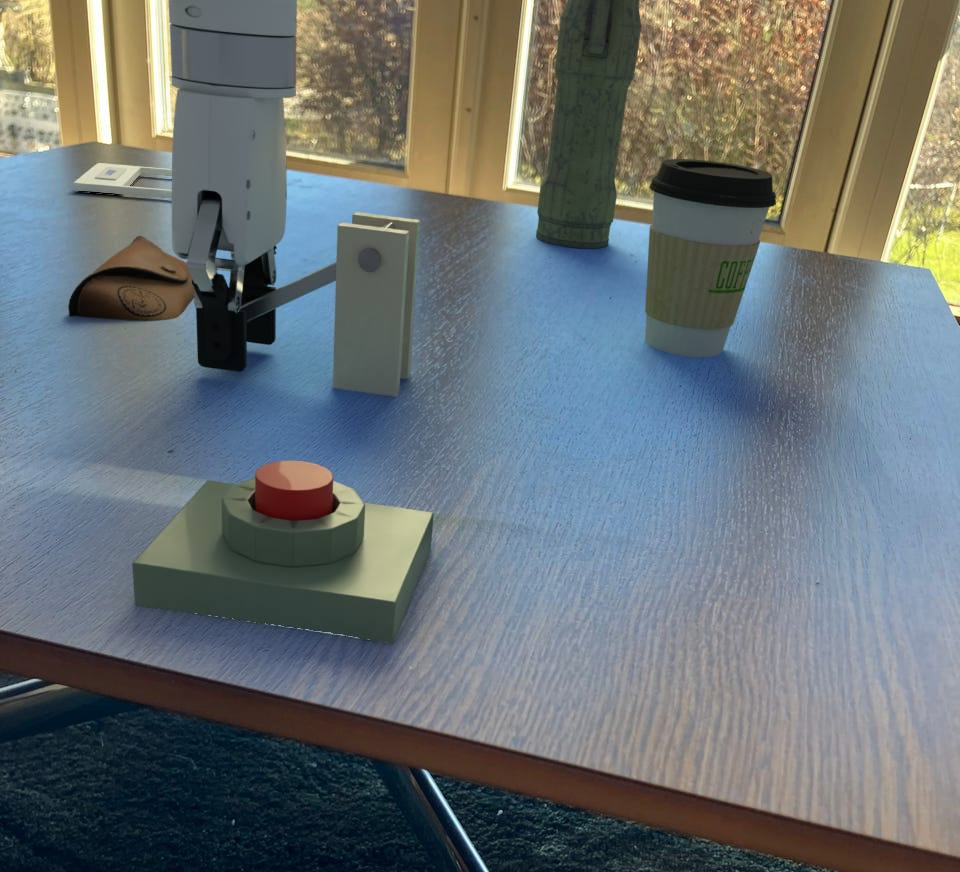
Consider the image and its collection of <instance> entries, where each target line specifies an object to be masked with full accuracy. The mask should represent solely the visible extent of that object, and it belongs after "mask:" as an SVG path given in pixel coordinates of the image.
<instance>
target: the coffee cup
mask: <svg viewBox="0 0 960 872" xmlns="http://www.w3.org/2000/svg"><path fill="white" fill-rule="evenodd" d="M773 183H774V181H773V175H772V174H771V173H770V172H768V171H765V170H762V169H758V168H754V167H751V166H746V165H739V164H735V163H728V162H721V161H713V160H704V159H694V158H693V159H691V158H690V159H689V158H671V159H664V160H662V162H661V165H660V167H659V169H658V172H657V174H656V175H655V176H653V177H652V179H651V182H650V184H649V186H648V189H650V191H652V192H653V201H652V202H653V203H652V218H651V219H652V220H651V224H650V225H649V231H648V233H649V234H648V252H647V267H646V268H647V270H646V288H645V289H646V290H645V302H644V303H645V305H644V312H645V314H646V317H645V318H646V320H645V333H644V336H645V337H644V340H645V343H646V344H647V345H648V346H650V347H651V348H653V349H655V350H658V351H660V352H664V353H668V354H671V355H675V356H683V357H688V358H689V357H691V358H711V357H712V358H713V357H716V356H719V355H721V354H723V351H724V349H725V346H726V343H727V339H728V337H729V333H730V330H731V327H732V326H733V325H734V324H735V320H736V317H737V315H738V311H739V308H740V306H741V302H742V300H743V299H742V298H743V296H744V293H745V289H746V288H747V287H746V286H747V283H748V280H749V277H750V274H751V272H752V268H753V265H754V263H755V260H756V256H757V253H758V250H759V247H760V244H761V240H760V238H761V235H762V232H763V228H764V225H765V222H766V219H767V217H768V216H767V215H768V213H769V210H770V208H772V207H775V205H776V206H777V200H776V198H777V194H776V192H775V191H774V186H773V185H774V184H773Z"/></svg>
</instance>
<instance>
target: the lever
mask: <svg viewBox="0 0 960 872" xmlns="http://www.w3.org/2000/svg"><path fill="white" fill-rule="evenodd" d="M381 228H389V229H396V228H395V226H394V224H393V222H391V223H389V224H387V225H385V226H383V227H381ZM334 282H336V261H334V262H332V263H330V264H328V265H325V266H323V267H322V268H319V269H317V270H315V271H313V272H310V273H309V274H306V275H304V276H302V277H300V278H297V279H295V280H294V281H291V282H290V283H287V284H285V285H283V286H280V287H278V288H276V290H274V291H272V292H270V293H268V294H266V295H263V296H261V297H259V298H257V299H254V298H252V297H245V298H243V299H242V300H241V308H240V310H246V324H247V323H248V322H250V321H251V320H252V319H254V318H256V317H258V316H260V315H263V314H265V313H267V312H269V311H271V310H273V309H276V310H277V309H278V308H280V307H282V306H284V305H286V304H289V303H291V302H293V301H295V300H297V299H300V298H301V297H303V296H306V295H308V294H310V293H312V292H315V291H317V290H319V289H321V288H323V287H326V286H327V285H329V284H331V283H334Z"/></svg>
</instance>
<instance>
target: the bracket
mask: <svg viewBox="0 0 960 872" xmlns="http://www.w3.org/2000/svg"><path fill="white" fill-rule="evenodd" d="M391 222H393V224H394V226H395V228H396V229H389V228H381V227H383V226H385V225H387V224H389V223H391ZM336 231H337V233H336V260H335V262H336V281H335V293H334V294H335V296H334V297H335V299H334V327H333V329H334V331H333V333H334V334H333V358H332V359H333V360H332V361H333V365H332V367H333V368H332V389H338V390H344V391H352V392H359V393H367V394H374V395H381V396H388V397H394V398H395V397H398V395H399V394H400V391H401V389H400V387H401V379H403V380H404V379H405V380H408V379H409V378H410V377H411V368H412V355H413V342H414V341H413V339H414V326H415V325H414V324H415V308H416V295H417V294H416V293H417V278H418V265H419V247H420V234H421V233H420V232H421V219H416V218H407V217H400V216H392V215H384V214H375V213H370V212H369V213H367V212H359V211H355V212H354V213H353V214H352V215H351V222H349V223H348V222H340V223H338V224H337V230H336Z"/></svg>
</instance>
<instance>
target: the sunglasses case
mask: <svg viewBox="0 0 960 872" xmlns="http://www.w3.org/2000/svg"><path fill="white" fill-rule="evenodd" d="M194 293H195V289H194V286H193V285H192V277H191V276H190V274H189V272H188V269H187V261H184V260H183V259H181V258H179V257H176V256H173V255H172V254H169V253H167V252H165V251H163V249H162V248H161V247H159V246H158V245H156V244H155V243H153V241H151V240H149V239H148V238H146V237H145V236H143V235H137V236H136V237H134V239H133V240H132V241H131V243H130V244H129V245H127V246H126V247H124V248H122V249H121V250H119V251H118V252H117V253H115V254H114V255H112V256H111V257H110V258H109V259H107V260H106V261H105V262H103V263H102V264H101V265H100V266H99V267H97V268H96V269H95V270H94V271H93V272H92V273H90V274H88V275H87V276H86V277H85V278H84V279H82V280H81V281H80V282H79V283H78V285H77V286H75V288H74V290H73V291H72V293H71V295H70V298H69V300H68V305H67V306H68V307H67V308H68V315H69V317H79V318H90V319H105V320H119V321H133V322H136V321H137V322H157V321H158V322H159V321H167V320H174V319H176V318H178V317H180V316H181V315H182V314H183V313H184V312H185V311H186V309H187V308H188V306H189V305H190V304H191V303H192V301H194Z"/></svg>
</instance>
